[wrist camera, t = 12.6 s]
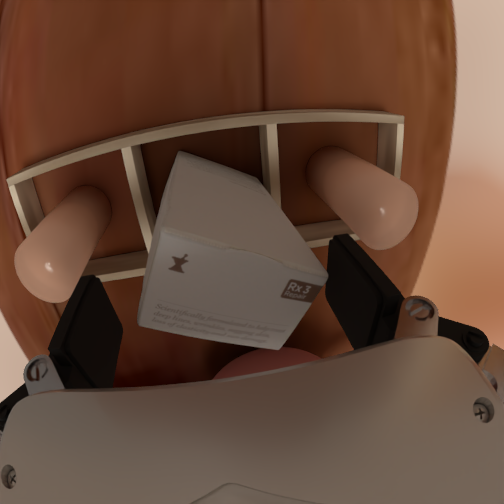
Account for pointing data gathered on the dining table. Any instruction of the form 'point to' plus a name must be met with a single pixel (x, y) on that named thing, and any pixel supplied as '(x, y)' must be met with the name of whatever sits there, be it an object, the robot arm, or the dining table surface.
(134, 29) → the dining table surface
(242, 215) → the skincare box
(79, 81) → the dining table surface
